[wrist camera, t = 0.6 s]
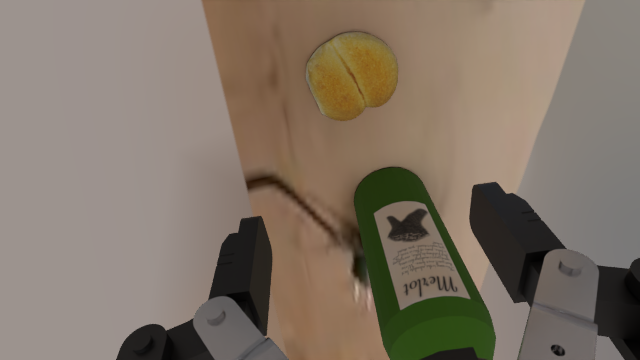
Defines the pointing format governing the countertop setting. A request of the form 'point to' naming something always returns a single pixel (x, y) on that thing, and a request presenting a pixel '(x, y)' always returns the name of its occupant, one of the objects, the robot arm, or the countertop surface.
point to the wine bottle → (417, 272)
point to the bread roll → (351, 75)
